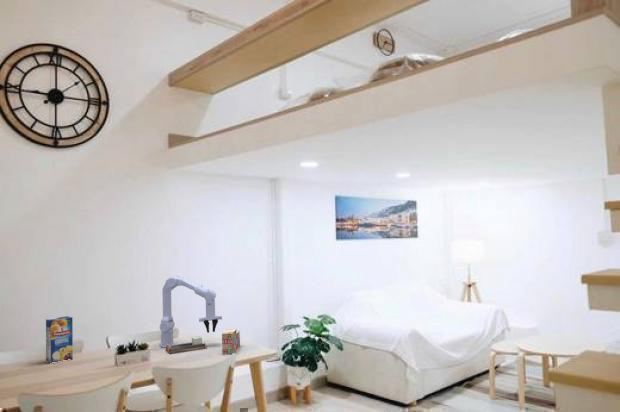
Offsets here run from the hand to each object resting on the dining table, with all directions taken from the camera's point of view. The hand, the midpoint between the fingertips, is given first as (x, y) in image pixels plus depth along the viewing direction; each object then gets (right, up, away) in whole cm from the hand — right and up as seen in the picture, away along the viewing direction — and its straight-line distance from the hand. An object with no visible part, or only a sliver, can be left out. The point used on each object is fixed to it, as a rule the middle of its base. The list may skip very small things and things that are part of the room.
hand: (210, 332), depth 306 cm
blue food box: (-82, -10, -26) cm, 87 cm away
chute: (-14, -8, -8) cm, 18 cm away
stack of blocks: (+15, -8, -12) cm, 21 cm away
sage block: (-8, -7, -5) cm, 12 cm away
